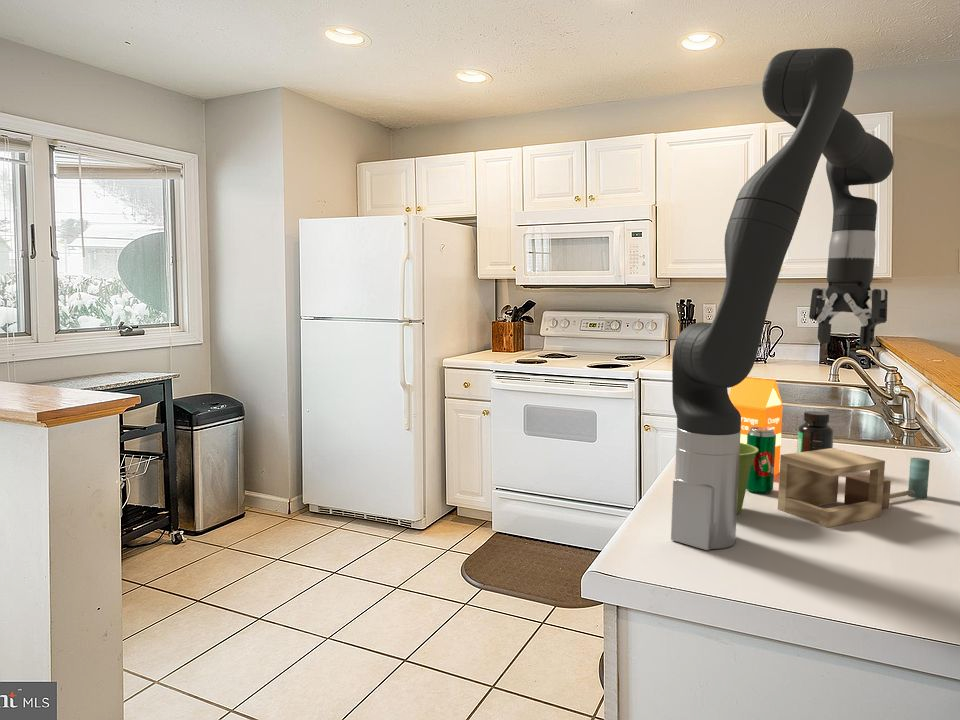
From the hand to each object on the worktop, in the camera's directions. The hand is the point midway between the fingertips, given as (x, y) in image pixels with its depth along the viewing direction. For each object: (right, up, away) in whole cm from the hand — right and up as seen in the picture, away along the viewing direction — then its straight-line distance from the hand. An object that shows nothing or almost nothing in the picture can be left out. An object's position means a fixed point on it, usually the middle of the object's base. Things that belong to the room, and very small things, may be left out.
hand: (843, 344), depth 128 cm
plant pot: (-26, -29, -8) cm, 40 cm away
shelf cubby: (-7, -29, -9) cm, 31 cm away
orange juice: (-11, -27, +17) cm, 33 cm away
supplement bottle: (+4, -26, +20) cm, 33 cm away
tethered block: (+7, -29, -3) cm, 30 cm away
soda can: (-14, -28, +4) cm, 32 cm away
